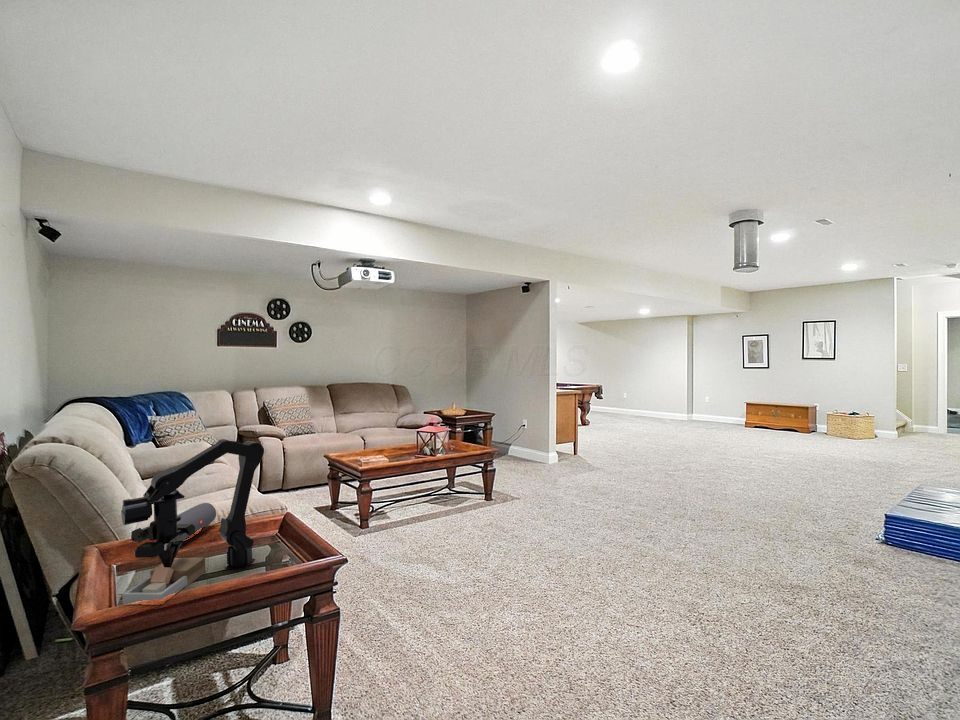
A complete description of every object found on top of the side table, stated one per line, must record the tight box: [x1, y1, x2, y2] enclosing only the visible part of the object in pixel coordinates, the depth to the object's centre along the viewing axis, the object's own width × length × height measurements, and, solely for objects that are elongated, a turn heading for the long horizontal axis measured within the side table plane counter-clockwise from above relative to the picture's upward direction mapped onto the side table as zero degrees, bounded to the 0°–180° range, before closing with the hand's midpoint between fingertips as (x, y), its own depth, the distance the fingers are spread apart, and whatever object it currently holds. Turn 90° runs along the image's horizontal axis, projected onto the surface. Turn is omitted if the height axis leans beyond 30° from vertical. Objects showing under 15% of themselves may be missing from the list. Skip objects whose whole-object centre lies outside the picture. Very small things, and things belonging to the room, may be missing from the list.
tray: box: [121, 575, 188, 605], centre depth 141 cm, size 11×11×3 cm
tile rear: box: [150, 566, 174, 584], centre depth 144 cm, size 4×4×2 cm
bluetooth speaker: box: [177, 502, 217, 541], centre depth 185 cm, size 23×9×10 cm, turn 179°
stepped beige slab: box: [149, 557, 206, 587], centre depth 151 cm, size 11×9×4 cm
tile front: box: [142, 583, 166, 593], centre depth 141 cm, size 4×4×2 cm
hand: (167, 568), depth 146 cm, fingers closed
